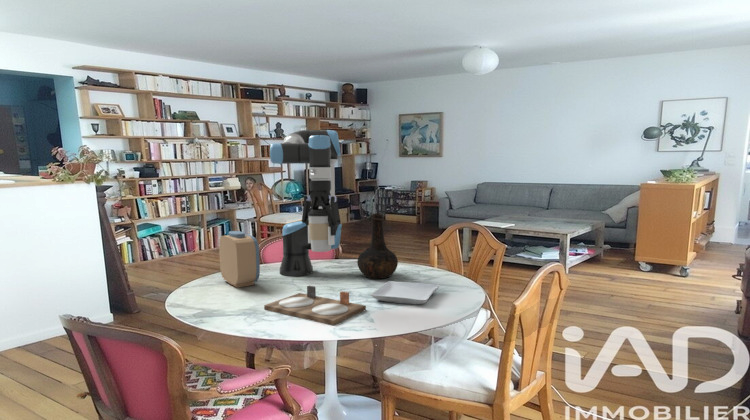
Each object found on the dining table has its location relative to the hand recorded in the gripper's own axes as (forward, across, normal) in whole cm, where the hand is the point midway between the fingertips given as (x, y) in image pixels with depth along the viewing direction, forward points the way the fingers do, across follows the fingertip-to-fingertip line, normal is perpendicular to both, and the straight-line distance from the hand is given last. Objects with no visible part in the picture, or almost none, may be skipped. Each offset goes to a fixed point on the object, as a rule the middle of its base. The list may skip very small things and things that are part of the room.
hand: (321, 243), depth 167 cm
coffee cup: (+3, 0, 0) cm, 3 cm away
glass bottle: (+21, -5, +44) cm, 49 cm away
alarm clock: (+21, -48, +4) cm, 52 cm away
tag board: (+22, +3, -7) cm, 23 cm away
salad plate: (+22, +21, +23) cm, 38 cm away
